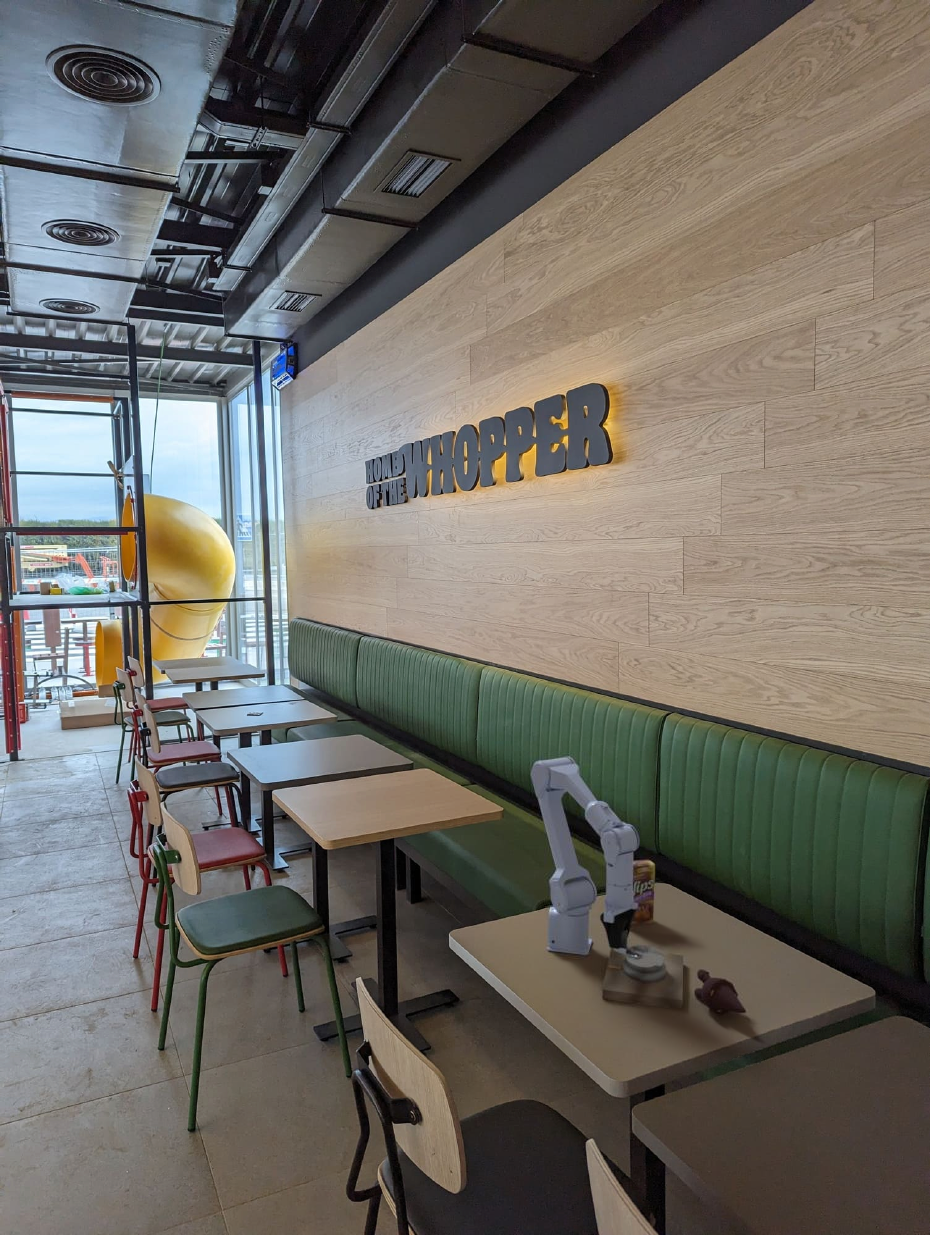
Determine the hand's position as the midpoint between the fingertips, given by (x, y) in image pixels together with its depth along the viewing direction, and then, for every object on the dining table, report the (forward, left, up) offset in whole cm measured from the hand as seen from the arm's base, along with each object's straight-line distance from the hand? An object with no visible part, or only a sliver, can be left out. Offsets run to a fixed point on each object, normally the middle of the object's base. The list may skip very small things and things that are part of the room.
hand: (618, 942), depth 181 cm
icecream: (+21, -10, -7) cm, 24 cm away
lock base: (+6, -2, -7) cm, 9 cm away
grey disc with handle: (+4, -1, -3) cm, 5 cm away
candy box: (+2, +28, -7) cm, 29 cm away
